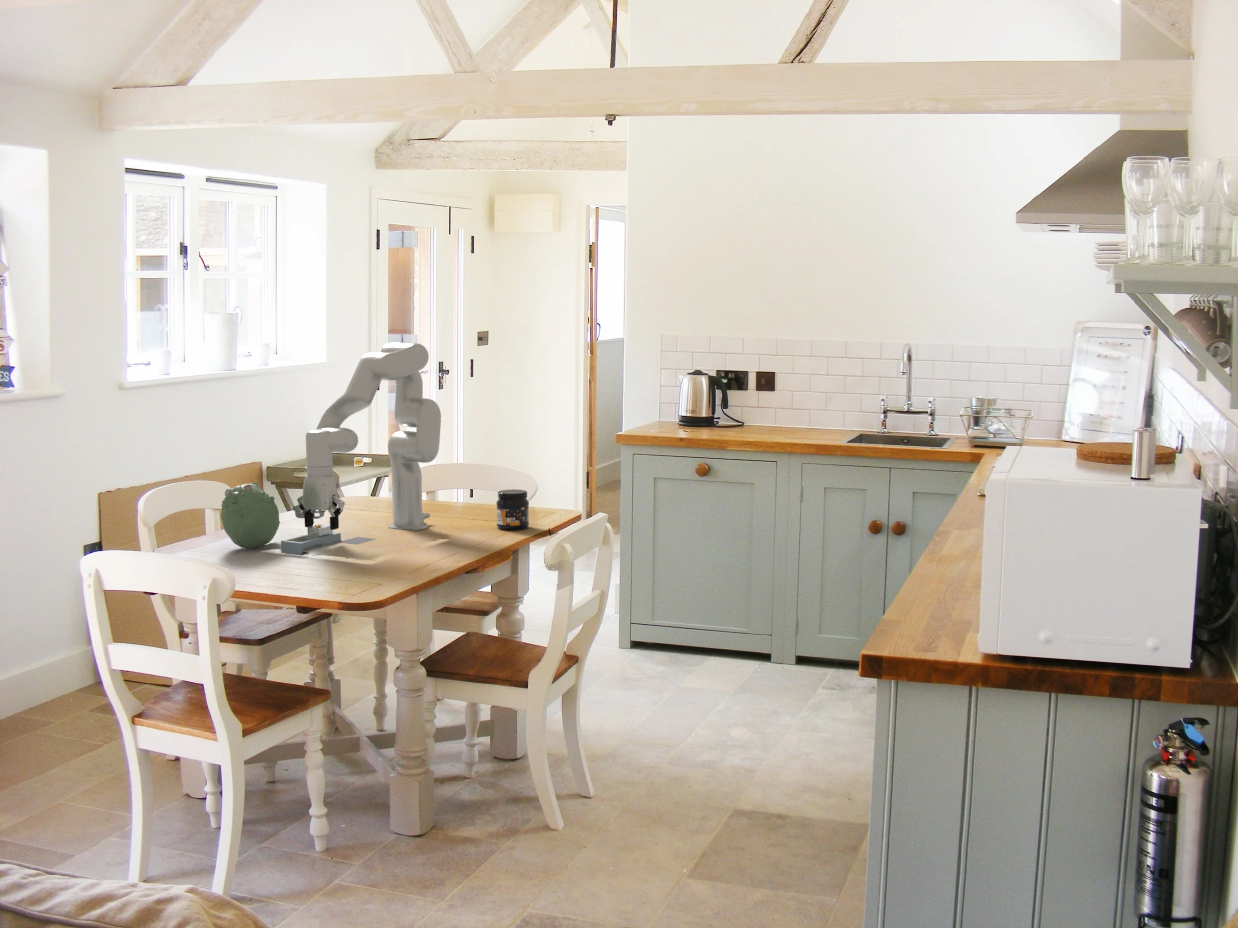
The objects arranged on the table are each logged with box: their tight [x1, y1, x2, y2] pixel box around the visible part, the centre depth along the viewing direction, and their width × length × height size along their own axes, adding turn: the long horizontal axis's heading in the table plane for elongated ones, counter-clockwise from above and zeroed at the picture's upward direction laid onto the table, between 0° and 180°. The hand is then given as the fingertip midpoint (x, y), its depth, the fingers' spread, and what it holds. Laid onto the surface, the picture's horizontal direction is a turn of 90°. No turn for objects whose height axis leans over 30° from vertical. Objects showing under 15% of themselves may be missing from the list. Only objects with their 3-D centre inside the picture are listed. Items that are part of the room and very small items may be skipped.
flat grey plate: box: [339, 536, 375, 545], centre depth 362 cm, size 9×7×1 cm
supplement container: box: [496, 488, 530, 531], centre depth 388 cm, size 10×10×12 cm
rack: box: [280, 532, 342, 556], centre depth 356 cm, size 18×8×4 cm, turn 153°
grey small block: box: [308, 523, 334, 538], centre depth 359 cm, size 6×4×3 cm, turn 153°
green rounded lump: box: [220, 481, 281, 550], centre depth 354 cm, size 16×19×20 cm
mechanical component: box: [292, 504, 327, 535], centre depth 372 cm, size 3×10×10 cm, turn 78°
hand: (321, 527), depth 359 cm, fingers open, 9 cm apart
